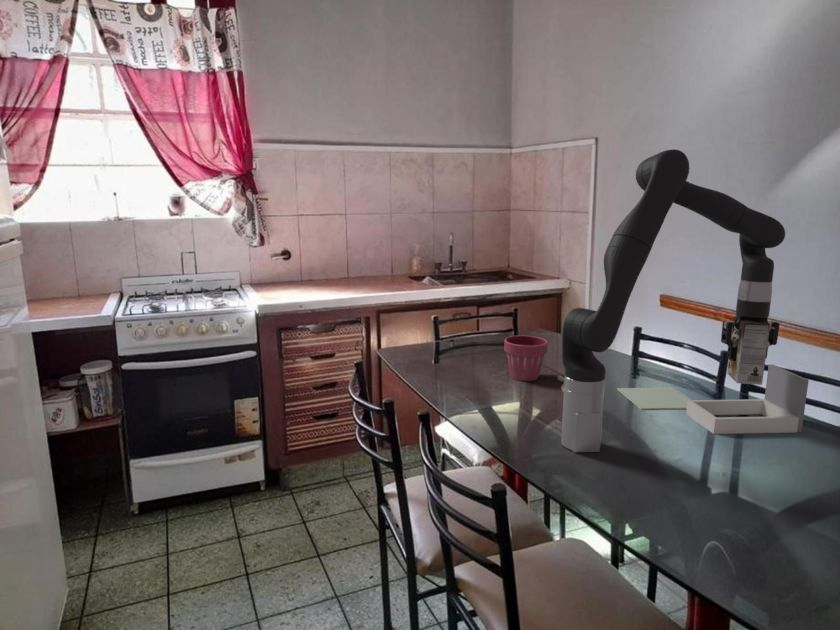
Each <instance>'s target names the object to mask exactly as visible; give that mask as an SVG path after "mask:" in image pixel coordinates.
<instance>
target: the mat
mask: <svg viewBox="0 0 840 630" xmlns="http://www.w3.org/2000/svg"><path fill="white" fill-rule="evenodd" d="M616 390H617V391H618V392H620V393H621V394H622V395H623V396H624V397H626V399H628V400H629V401H630V402H631V403H633V404H634V405H635V406H636V407H637V408H639V409H640V410H643V411H645V410H646V411H647V410H648V411H650V410H687V400H692V399H691V398H690V397H688V396H687V395H685V394H684V393H683V392H681V391H679V390H678V389H677V388H675V387H671V386H670V387H668V386H667V387H617V388H616Z"/></svg>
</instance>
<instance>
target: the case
mask: <svg viewBox="0 0 840 630" xmlns="http://www.w3.org/2000/svg"><path fill="white" fill-rule="evenodd" d="M766 376H767V377H766V383H765V392H764V398H762V399H761V398H759V399H758V398H757V399H755V398H754V399H752V398H751V399H750V398H749V399H701V400H700V399H697V400H696V399H695V400H693V399H691V400H687V409H686V411H685V415H686V416H688V417H689V418H691V419H692V420H693V421H695V422H697V423H698V424H699V425H701V426H702V427H703V428H705V429H706V430H707V431H708V432H710V433H712V434H713V435H726V434H728V435H729V434H731V435H732V434H733V435H734V434H773V433H774V434H780V433H781V434H782V433H786V434H787V433H802V430H803V424H804V416H805V410H806V403H807V402H806V401H807V395H808V388H809V381H810V379H807V378H805V377H803V376H800V375H798V374H796V373H794V372H791V371H789V370H787V369H785V368H782V367H780V366H778V365H775V364H768V368H767V375H766ZM728 415H731V416H732V417H731V416H730V417H726V416H728ZM734 415H736V416H734ZM737 415H743V416H738V417H737ZM744 415H761V416H744ZM716 416H722V417H716ZM723 416H724V417H723Z"/></svg>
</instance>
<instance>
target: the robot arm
mask: <svg viewBox="0 0 840 630" xmlns="http://www.w3.org/2000/svg"><path fill="white" fill-rule="evenodd" d="M689 173H690V162H689V159H688V157H687V155H686V154H685V153H684V152H683V151H682V150H679V149H667V150H663V151H660V152H658V153H656V154H654V155H651V156H650V157H647V158H646V159H644V160H642V162H640V164H638V166H637V168H636V170H635V180H636V184H637V185H638V186H639V187H640V189H642V190H643V191H644V192H643V194H642V196H641V198H640V199H639V201H638V202H637V204H635V206H634V207H633V208H632V209H631V211H630V212H629V213H628V214H627V215H626V216H625V217H624V219H623V220H622V221H621V223H620V224H619V225H617V228H616V229H615V231H614V233H613V234H612V237H611V238H610V242H609V243H608V245H607V247H606V249H605V253H604V256H603V270H604V277H605V291H604V294H603V297H602V299H601V301H600V304H599V306H598V308H597V310H593V309H589V308H584V307H576V308H572V310H570V311H568V313H567V314H566V316H565V318H564V320H563V321H564V322H563V325H562V333H561V334H562V338H561V342H562V343H561V344H562V345H561V346H562V348H561V351H562V354H561V355H562V357H561V360H562V365H563V368H564V378H565V383H563V384H564V392H563V400H562V401H563V404H562V419H561V420H562V421H561V441H560V443H561V445H562V446H563V447H564V448H566V449H568V450H571V451H572V452H573V453H600V449H601V447H602V446H601V445H602V427H603V414H604V413H603V412H604V399H605V397H604V396H605V386H606V367H605V365H604V363H602V362H601V361H600V360H599V359H598V358H597V357H596V356H595V354H594V353H603V352H605V351H607V350H608V349H609V348H610V347H611V346H612V344H613V342H614V341H615V339H616V337H617V335H618V332H619V328H620V326H621V324H622V323H621V322H622V320H623V317H624V314H625V312H626V308H627V305H628V303H629V299H630V297H631V295H632V292H633V290H634V288H635V285H636V283H637V280H638V278H639V276H640V274H641V272H642V270H643V268H644V266H645V264H646V262H647V260H648V257H649V256H650V252H651V250H652V248H653V246H654V244H655V241H656V239H657V236H658V235H659V232H660V231H661V228H662V226H663V224H664V221H665V219H666V217H667V215H668V213H669V211H670V209H671V208H672V205H673V204H675V205H678V206H680V207H683V208H685V209H687V210H690V211H692V212H694V213H696V214H697V215H699V216H702V217H704V218H706V219H708V221H709V220H710V221H711V222H712V223H714V224H716V225H718V226H719V227H721V228H722V229H724V230H726V231H728V232H731V233H734V234H735V233H736V234H739V236H738V237H739V238H738V240H739V241H738V242H739V250H740V257H741V261H742V262H741V263H742V266H741V275H740V282H739V284H738V285H739V286H738V290H737V298H736V307H735V316H736V319H735V321H733V320H732V321H728V320H723V321H722V327H721V336H720V338H721V339H720V342H721V343H722V344H724V345H727V353H726V357H727V359H728V361H729V360H731V361H736V355H737V345H738V340H739V336H738V335H736V330H735V331H734V332H733V334H732V329H734V326H735V328H736V329H737V328H738V330H739V328H740V322H741V321H745V320H758V321H759V320H762V321H766V322H767V323H769V324H770V330H769V337H768V344H767V352H766V359H767V358H768V352H769V348H770V347H771V346H776V345H777V344H778V338H779V332H780V331H779V330H780V325H781V324H780V322H778V321H775V320H770V321H769V320H768V318H769V317H770V311H771V310H770V309H771V304H772V303H771V302H772V295H773V279H774V271H775V263H774V260H773V259H772V258H770V257H768V256H767V253H766V249H772V248H773V249H774V248H776V247H778V246H779V245H781V244H782V243H783V242H784V240H785V238H786V230H785V227H784V225H783V224H782V223H781V222H780V221H779V220H777V219H776V218H774V217H772V216H771V215H770V216H769V215H767V214H765V213H762V212H760V211H757V210H755V209H753V208H750V207H748V206H747V205H745V204H744V203H742V202H740V201H739V200H737V199H735V198H734V197H732V196H730V195H728V194H726V193H723V192H721V191H718V190H714V189H711V188H708V187H703V186H699V185H697V184H694V183H691V182H689V181H687V180H688V176H689ZM731 335H732V337H731Z"/></svg>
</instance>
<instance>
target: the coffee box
mask: <svg viewBox="0 0 840 630" xmlns="http://www.w3.org/2000/svg"><path fill="white" fill-rule="evenodd" d="M732 319H733V320H732V321H735V319H736V315H733V318H732ZM735 330H736V335H738V336H739V340H738V345H737V355H736V361H731V360H729V359H728V362H727V372H726V373H727V375H728V376H729V377H730V378H731V379H732V380H733V381H734V382H735V383H736V384H743V385H744V384H745V385H758V386H763V381H764V380H763V379H764V372H765V365H766V360H767V358H766V352H767V344H768V337H769V330H770V324H769V323H767V322H766V321H762V320H759V321H758V320H745V321H741V322H740V328H739V330H738V328H737V329H736V328H735V326H734V329H732V334H733V332H734V331H735ZM731 337H732V335H731Z"/></svg>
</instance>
